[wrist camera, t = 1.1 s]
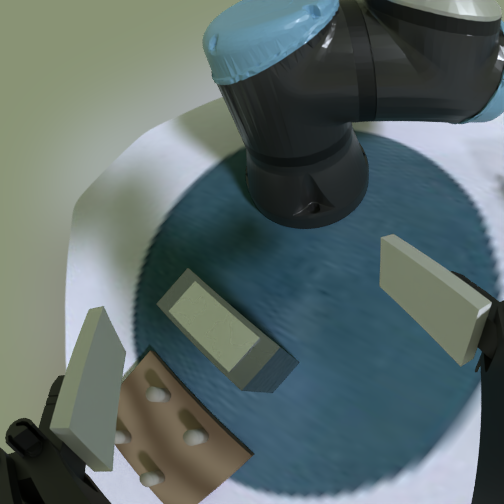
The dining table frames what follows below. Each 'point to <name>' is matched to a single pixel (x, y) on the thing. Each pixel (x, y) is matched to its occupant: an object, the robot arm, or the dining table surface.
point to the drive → (226, 336)
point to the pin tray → (173, 436)
